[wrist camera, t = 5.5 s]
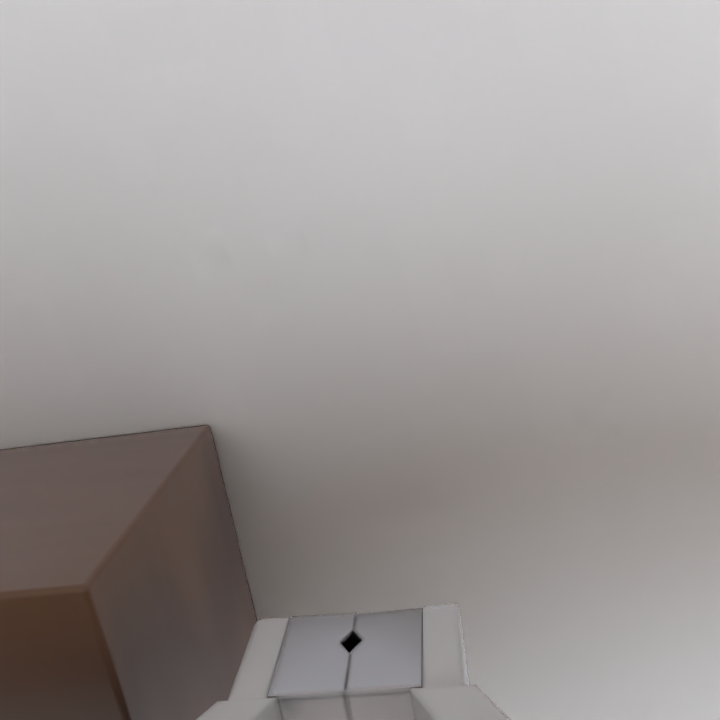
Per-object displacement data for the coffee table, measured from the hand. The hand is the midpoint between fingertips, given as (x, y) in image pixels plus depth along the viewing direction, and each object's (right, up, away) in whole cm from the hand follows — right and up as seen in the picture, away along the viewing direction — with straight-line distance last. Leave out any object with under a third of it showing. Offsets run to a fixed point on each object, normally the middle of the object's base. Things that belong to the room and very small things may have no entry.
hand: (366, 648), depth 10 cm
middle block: (-5, 0, +4) cm, 6 cm away
